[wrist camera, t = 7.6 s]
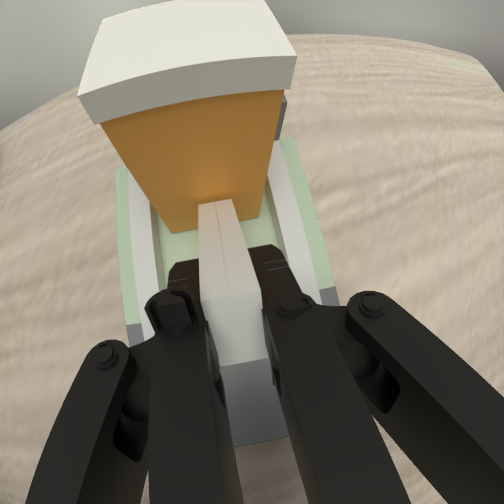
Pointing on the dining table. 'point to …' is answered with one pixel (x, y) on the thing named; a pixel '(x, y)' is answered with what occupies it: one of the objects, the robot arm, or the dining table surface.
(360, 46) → the dining table surface
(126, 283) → the grey rail tray
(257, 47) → the block
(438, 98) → the dining table surface
